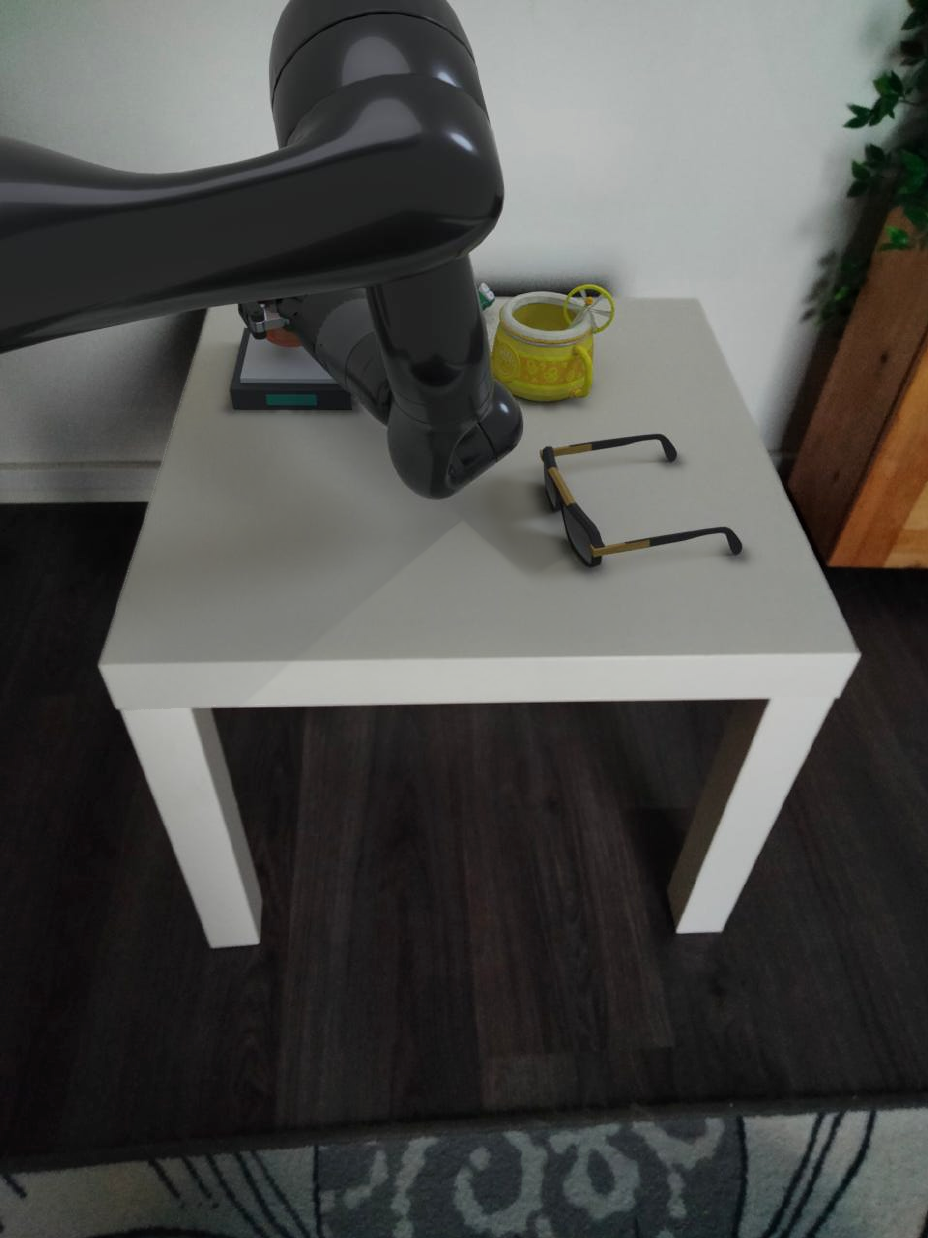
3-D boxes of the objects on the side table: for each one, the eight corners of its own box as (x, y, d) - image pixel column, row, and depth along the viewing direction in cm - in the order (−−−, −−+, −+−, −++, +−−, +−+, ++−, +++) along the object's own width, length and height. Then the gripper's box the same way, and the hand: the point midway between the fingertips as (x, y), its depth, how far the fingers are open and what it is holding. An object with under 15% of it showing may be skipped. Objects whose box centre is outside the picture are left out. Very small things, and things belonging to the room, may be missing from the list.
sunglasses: (740, 555, 79) (755, 511, 75) (577, 582, 75) (585, 538, 72) (674, 460, 88) (685, 416, 84) (526, 481, 85) (531, 437, 81)
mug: (468, 374, 97) (473, 266, 88) (544, 344, 102) (556, 239, 93) (545, 431, 90) (559, 321, 81) (623, 397, 95) (644, 289, 86)
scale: (351, 410, 91) (350, 384, 89) (232, 409, 91) (228, 384, 88) (356, 348, 100) (354, 323, 97) (247, 347, 99) (243, 321, 97)
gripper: (426, 281, 79) (339, 211, 88) (275, 322, 73) (200, 242, 83) (426, 358, 84) (344, 284, 94) (286, 401, 79) (214, 318, 88)
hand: (277, 265), depth 88 cm, fingers closed on cup, 6 cm apart
